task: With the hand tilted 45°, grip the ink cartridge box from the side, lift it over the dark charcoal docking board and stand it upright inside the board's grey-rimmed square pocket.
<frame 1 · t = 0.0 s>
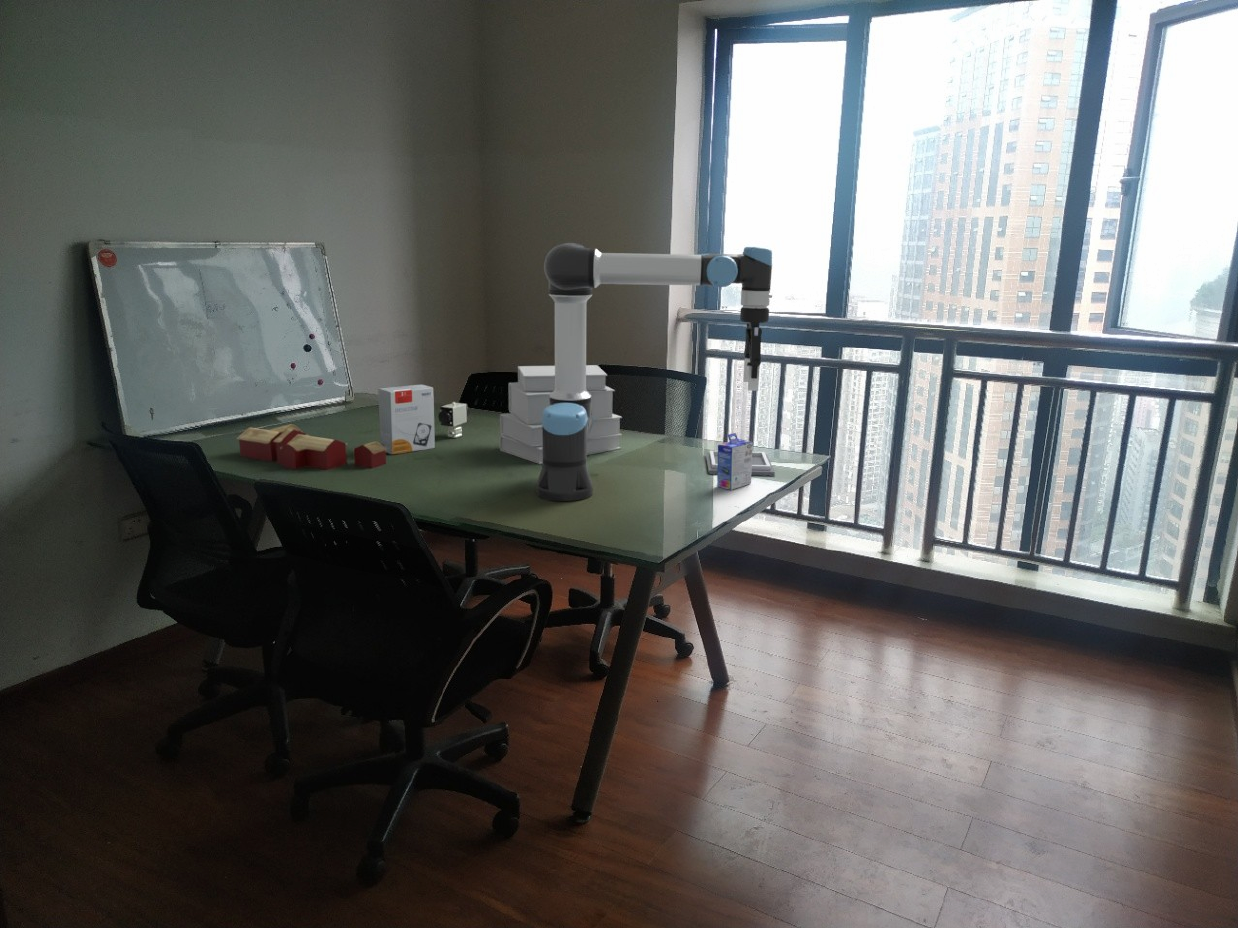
hand: (750, 386, 235), 28 cm above the table, tool pointing down, fingers open, 13 cm apart
book stack: (560, 450, 278), on the table
toy houses: (314, 461, 261), on the table
pneumatic valve: (453, 437, 293), on the table
ink cartridge box: (733, 485, 242), on the table
hard drive box: (408, 450, 275), on the table
dock board: (738, 465, 262), on the table
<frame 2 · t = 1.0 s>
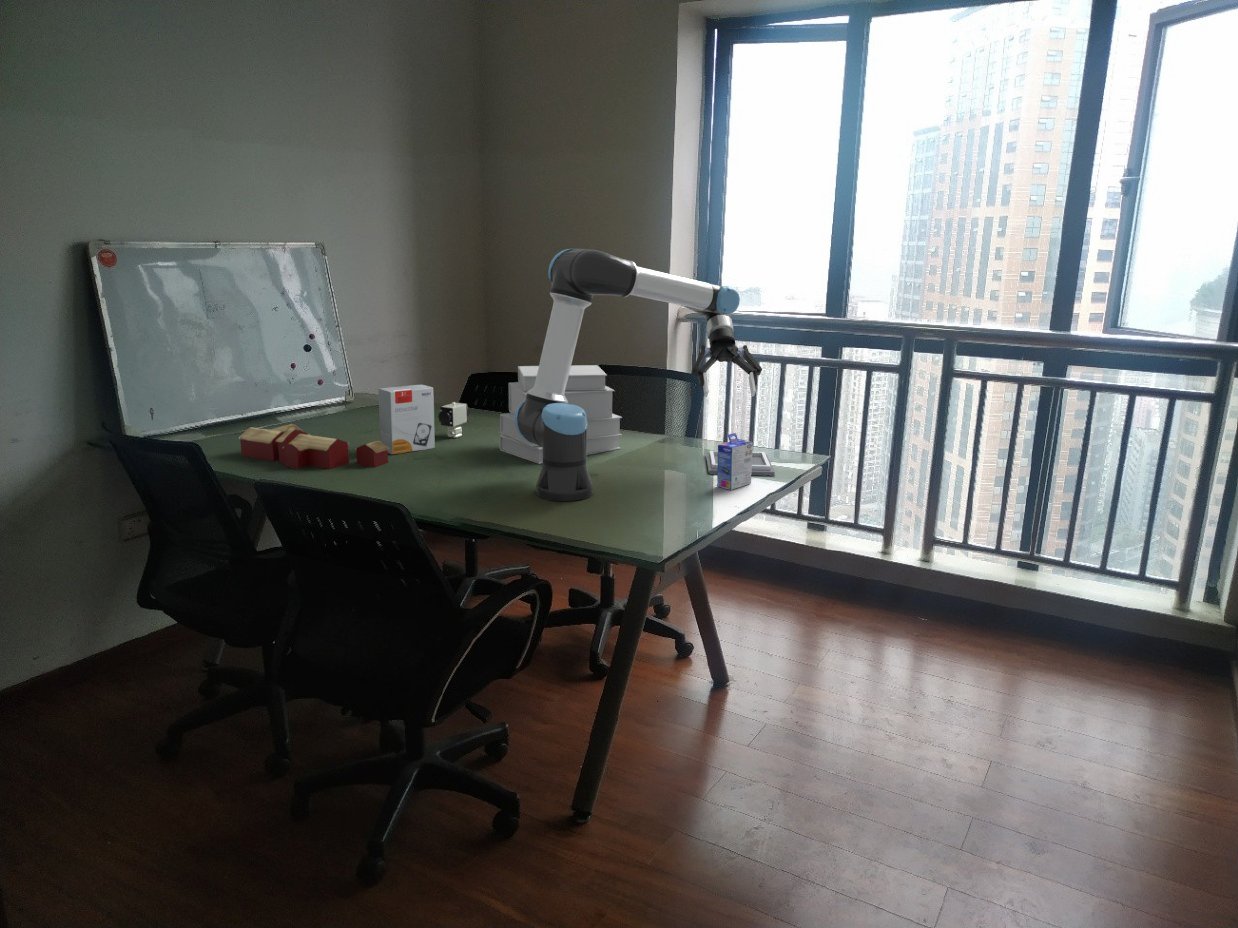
hand: (730, 394, 245), 24 cm above the table, tool tilted 45°, fingers open, 13 cm apart
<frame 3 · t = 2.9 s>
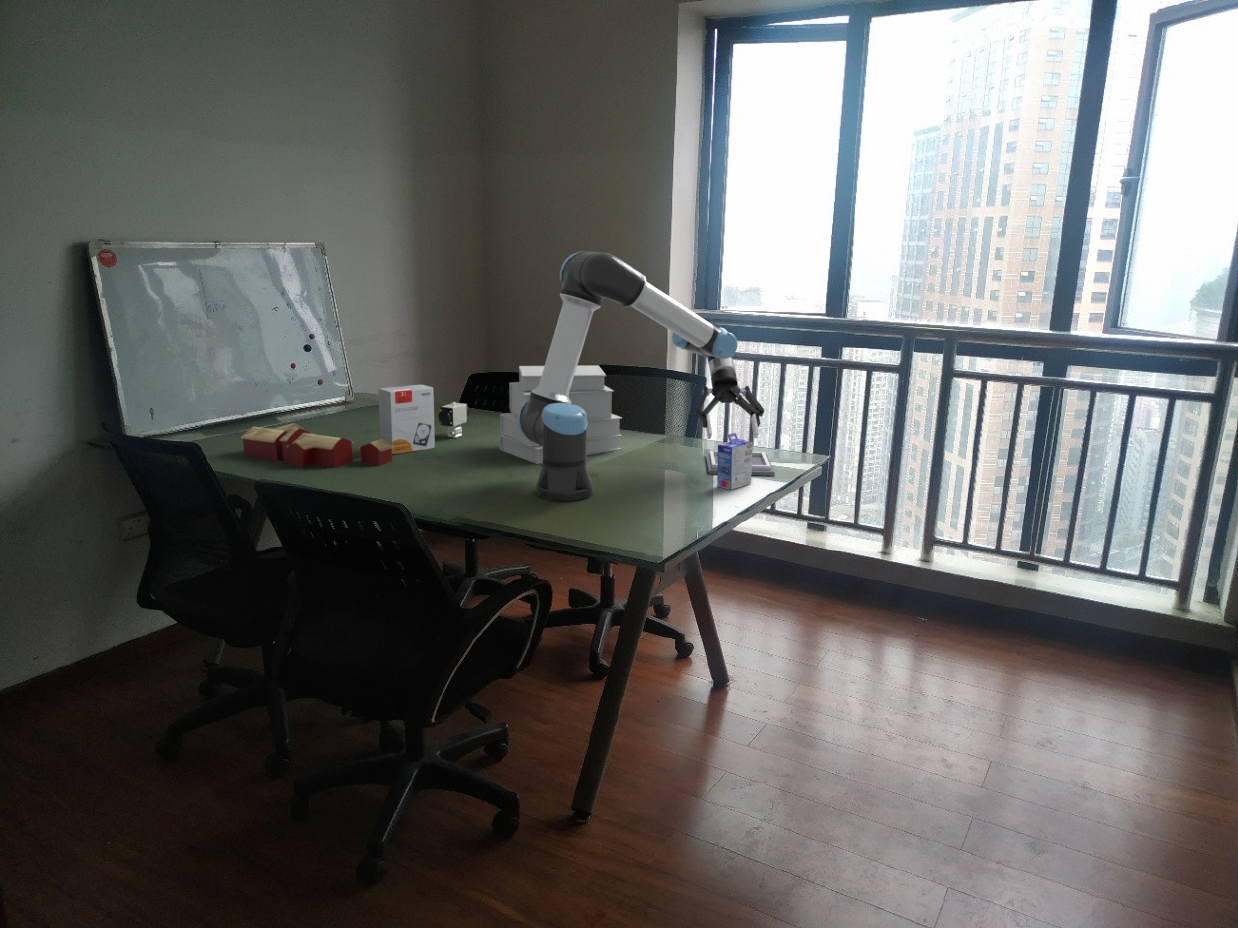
hand: (733, 436, 245), 12 cm above the table, tool tilted 45°, fingers open, 13 cm apart
toy houses: (319, 460, 263), on the table
everything else where it was.
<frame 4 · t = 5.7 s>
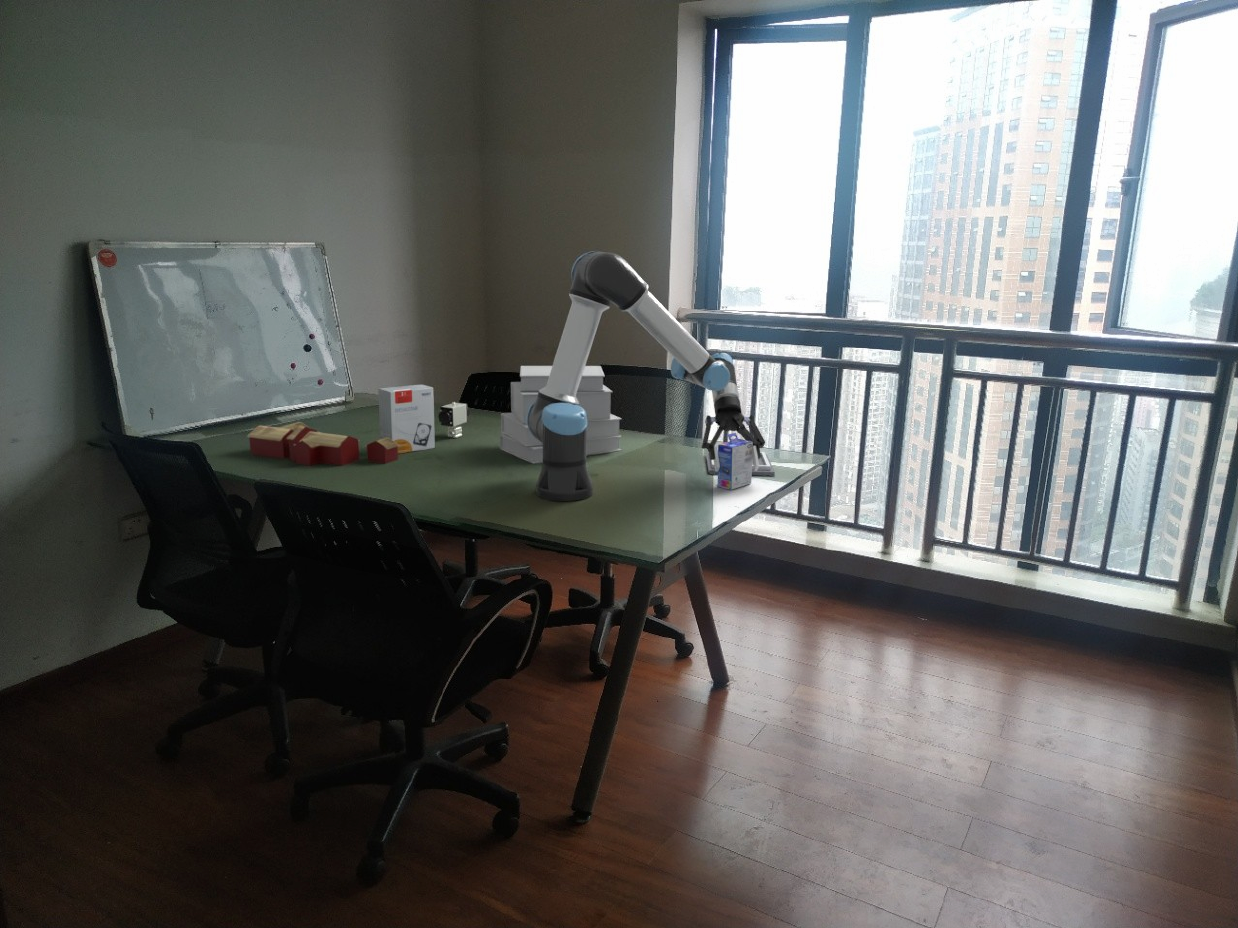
hand: (737, 468, 237), 5 cm above the table, tool tilted 45°, fingers closed on ink cartridge box, 10 cm apart
toy houses: (325, 458, 265), on the table
ink cartridge box: (733, 485, 242), on the table, touching gripper
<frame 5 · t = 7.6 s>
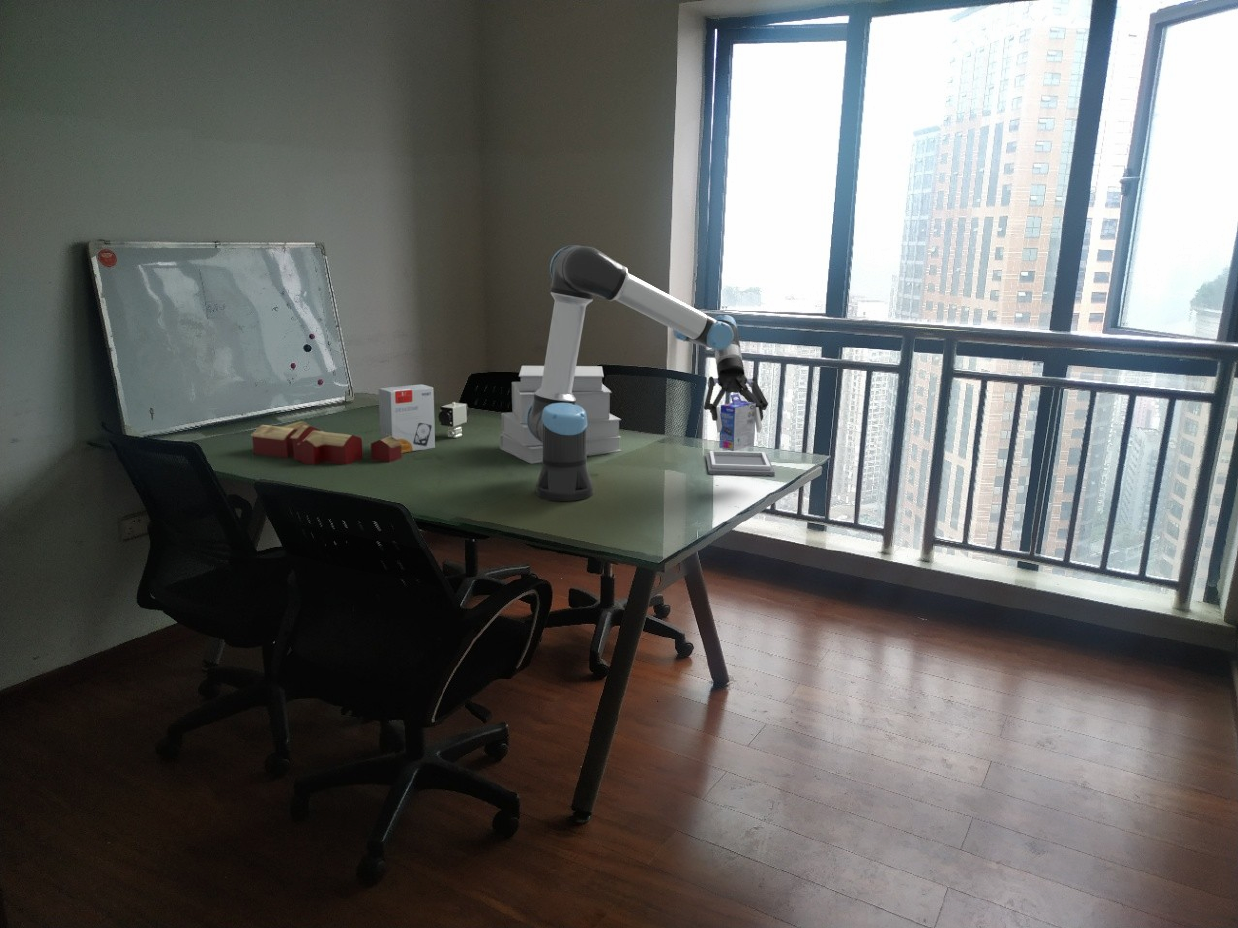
hand: (739, 429, 235), 16 cm above the table, tool tilted 45°, fingers closed on ink cartridge box, 10 cm apart
toy houses: (329, 457, 266), on the table
ink cartridge box: (735, 447, 239), point 11 cm above the table, touching gripper
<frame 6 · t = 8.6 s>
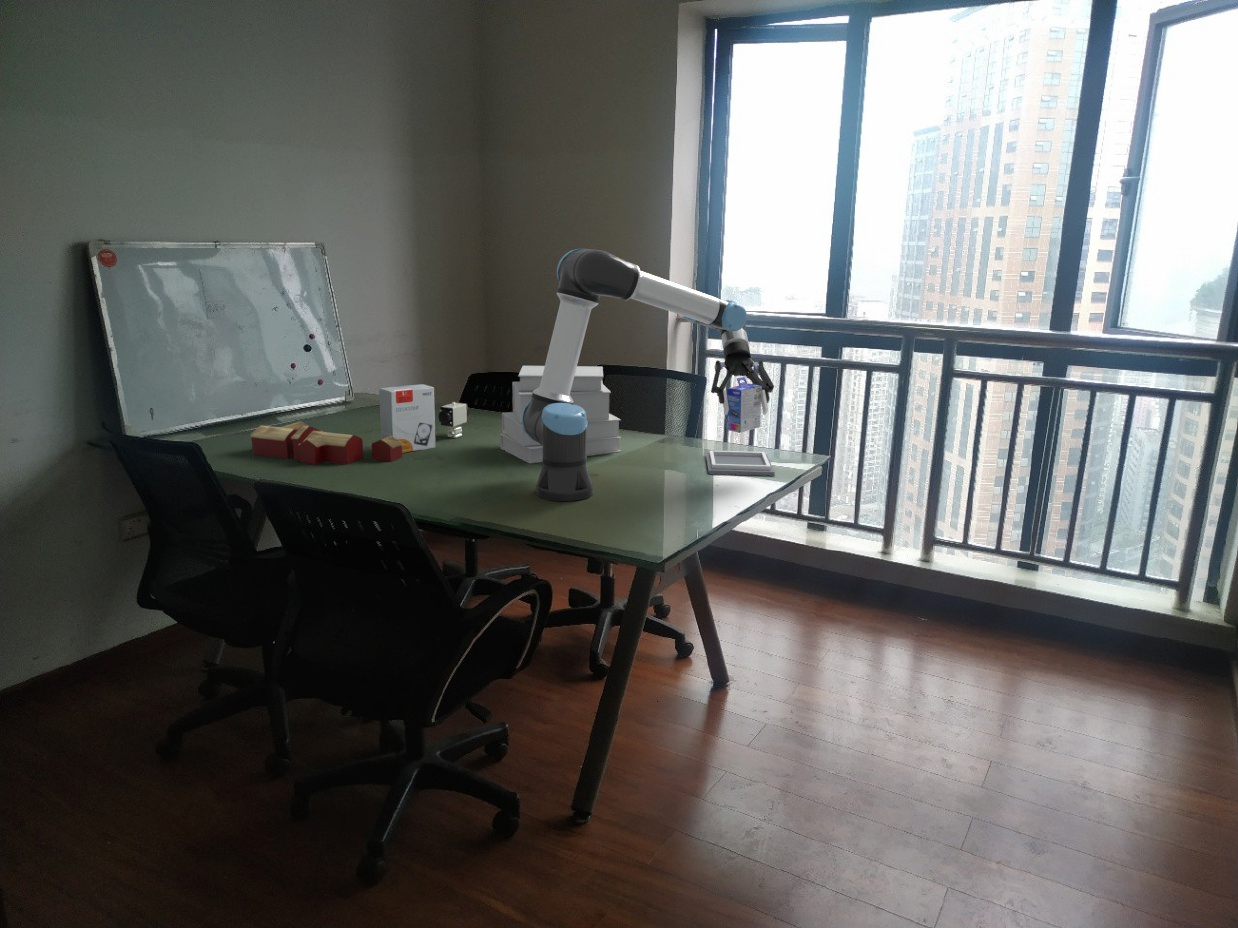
hand: (746, 412, 240), 20 cm above the table, tool tilted 45°, fingers closed on ink cartridge box, 10 cm apart
toy houses: (329, 457, 266), on the table, touching hard drive box
ink cartridge box: (742, 429, 244), point 14 cm above the table, touching gripper
hard drive box: (409, 449, 275), on the table, touching toy houses
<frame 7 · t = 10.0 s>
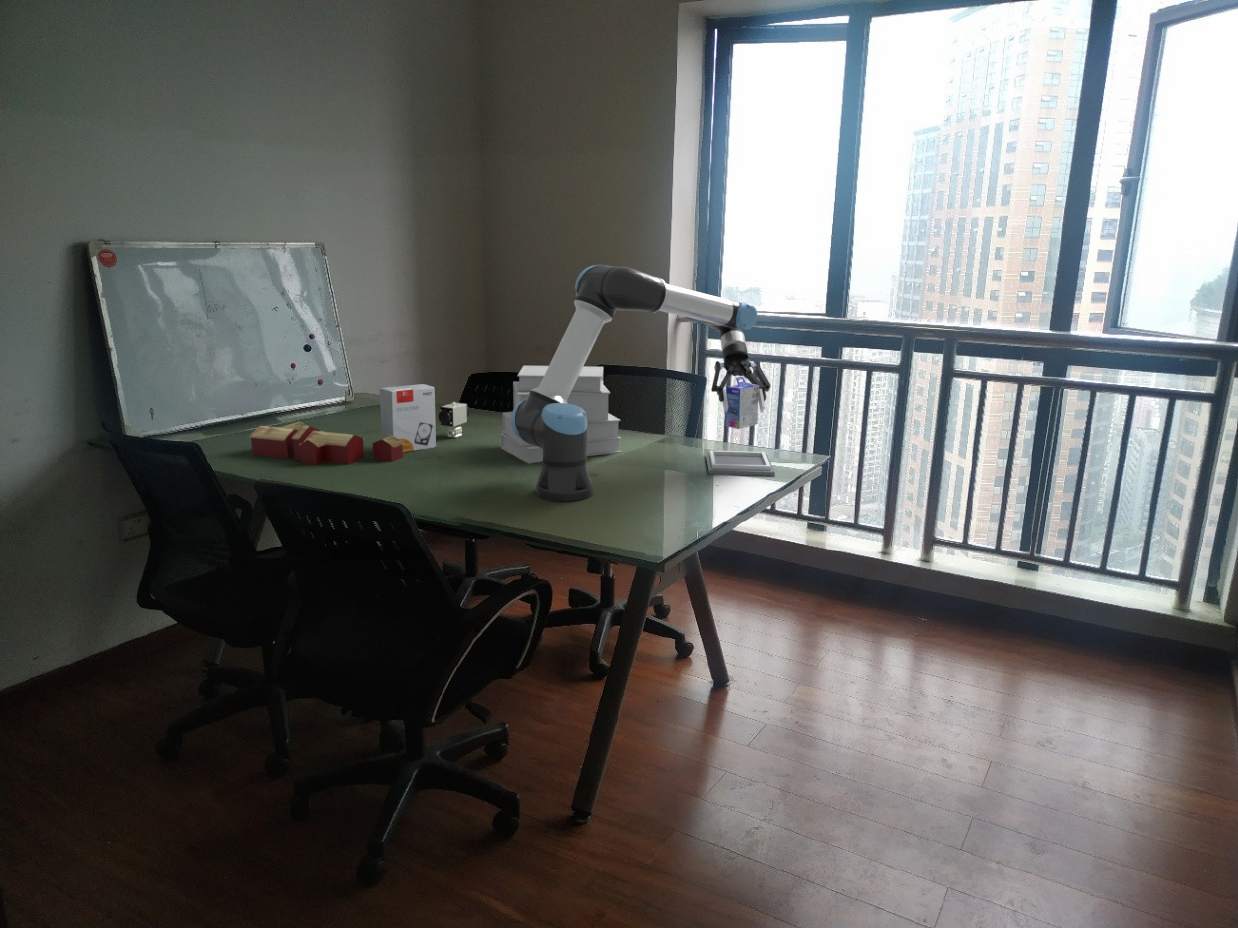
hand: (744, 409, 254), 18 cm above the table, tool tilted 45°, fingers closed on ink cartridge box, 10 cm apart
toy houses: (329, 457, 266), on the table
ink cartridge box: (741, 426, 259), point 12 cm above the table, touching gripper
hard drive box: (409, 449, 276), on the table
when the fingers open (7 cm above the table, at t = 13.2 s): ink cartridge box stays where it is, resting on dock board.
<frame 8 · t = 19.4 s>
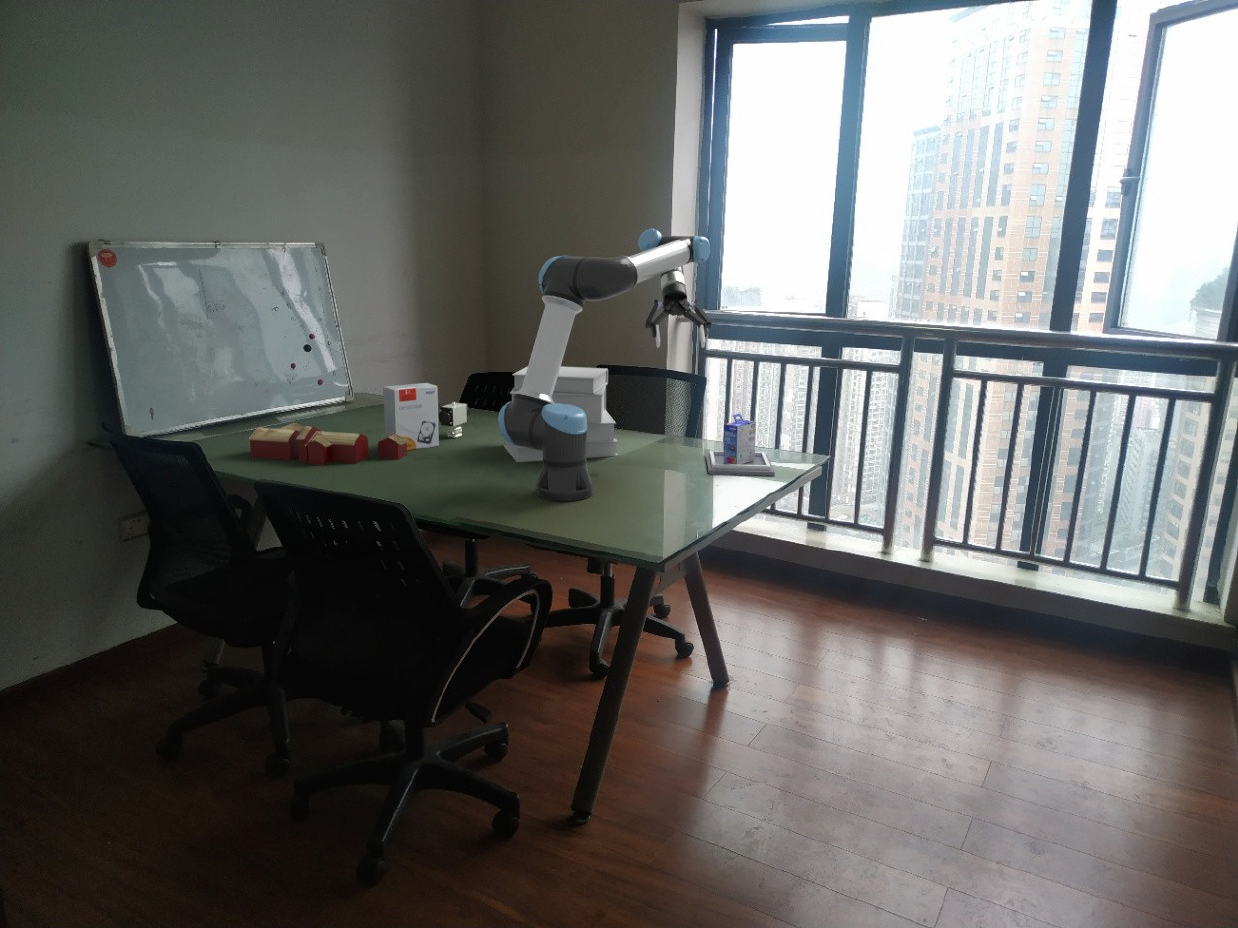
hand: (681, 345, 257), 36 cm above the table, tool tilted 45°, fingers open, 13 cm apart
ink cartridge box: (738, 462, 261), point 1 cm above the table, touching dock board
hard drive box: (412, 447, 278), on the table
at the end: ink cartridge box inside the target area on the dock board (0.1 cm from its centre), point 1.0 cm above the dock board's base; ink cartridge box tilted 0°; the gripper is holding nothing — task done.
